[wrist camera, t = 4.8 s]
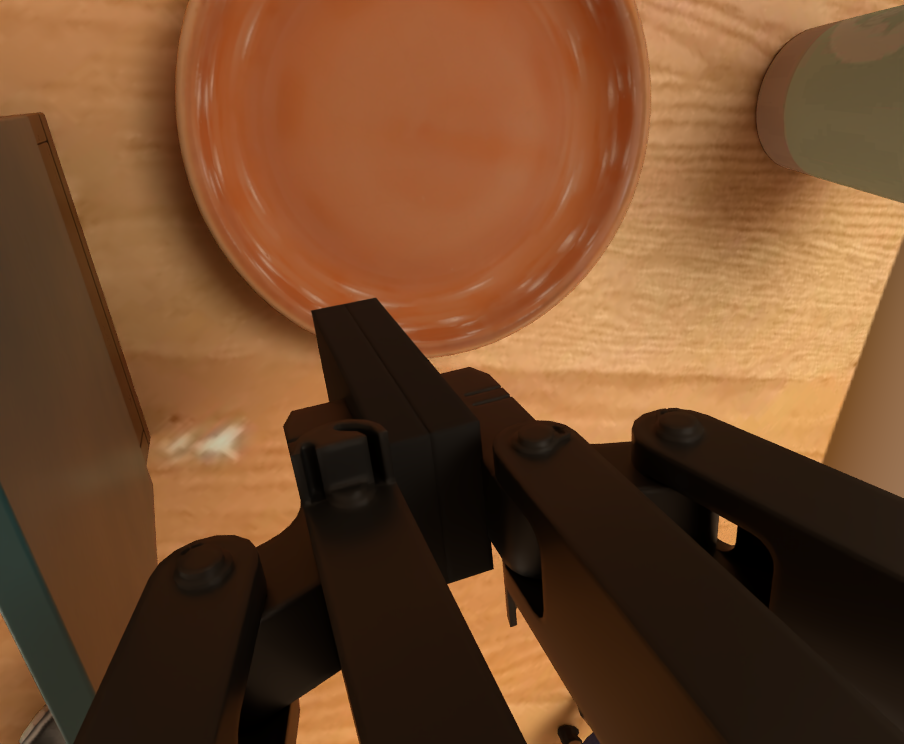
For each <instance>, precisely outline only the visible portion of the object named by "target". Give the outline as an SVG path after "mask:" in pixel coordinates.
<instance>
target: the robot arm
mask: <svg viewBox="0 0 904 744" xmlns="http://www.w3.org/2000/svg"><path fill="white" fill-rule="evenodd" d="M311 313H312V318H313V323H314V328H315V333H316V338H317V343H318V348H319V353H320V358H321V363H322V368H323V373H324V378H325V383H326V388H327V393H328V398H329V402H328V403H324V404H320V405H316V406H312V407H307V408H303V409H299V410H295V411H291V413H290V415H289V417H288V419H287V420H286V422H285V424H284V426H283V428H284V432H285V436H286V440H287V444H288V449H289V453H290V457H291V461H292V466H293V470H294V474H295V478H296V482H297V487H298V491H299V495H300V499H301V508H300V510H299V513H298V515H297V517H296V518H295V519H294V521H293V522H292V523H291V525H290V526H288V527H287V528H286V529H285V530H284V531H283V532H281V533H280V534H279V535H277V536H275V537H274V538H272V539H271V540H269V541H267V542H265V543H263V544H261V545H259V546H258V547H255V546H254V545H253V544H252V543H251V542H250V540H248V539H245V538H242V537H239V536H235V535H216V536H212V537H208V538H204V539H200V540H196V541H194V542H192V543H190V544H188V545H185V546H183V547H181V548H179V549H177V550H176V551H174V552H173V553H172V554H170V555H169V556H168V557H167V558H165V559H164V560H163V561H162V562H160V563H159V565H158V566H157V567H156V569H155V570H154V571H153V573H152V574H151V576H150V577H149V579H148V581H147V583H146V586H145V588H144V590H143V592H142V594H141V596H140V599H139V601H138V603H137V605H136V607H135V610H134V612H133V614H132V616H131V618H130V620H129V623H128V625H127V627H126V629H125V631H124V634H123V636H122V638H121V640H120V642H119V644H118V647H117V649H116V651H115V653H114V655H113V658H112V660H111V662H110V664H109V666H108V668H107V671H106V673H105V675H104V677H103V679H102V682H101V684H100V686H99V688H98V690H97V692H96V695H95V697H94V699H93V701H92V703H91V706H90V708H89V710H88V712H87V714H86V717H85V719H84V721H83V723H82V725H81V727H80V730H79V732H78V734H77V736H76V738H75V741H74V743H73V744H296V738H297V730H298V722H299V714H300V705H299V698H300V697H301V696H303V695H304V694H306V693H307V692H309V691H310V690H312V689H313V688H315V687H316V686H318V685H319V684H321V683H322V682H324V681H325V680H327V679H328V678H330V677H331V676H333V675H334V674H336V673H337V672H339V671H340V670H342V674H343V678H344V683H345V687H346V691H347V695H348V699H349V703H350V707H351V711H352V715H353V720H354V724H355V728H356V732H357V736H358V740H359V744H527V743H526V741H525V739H524V737H523V735H522V733H521V731H520V729H519V727H518V725H517V723H516V721H515V719H514V717H513V715H512V713H511V711H510V709H509V707H508V705H507V703H506V701H505V699H504V697H503V695H502V693H501V691H500V689H499V687H498V685H497V683H496V681H495V679H494V677H493V675H492V673H491V671H490V669H489V667H488V665H487V663H486V661H485V659H484V657H483V655H482V653H481V651H480V649H479V647H478V645H477V643H476V641H475V639H474V637H473V635H472V633H471V631H470V629H469V627H468V625H467V623H466V621H465V619H464V617H463V615H462V613H461V611H460V609H459V607H458V605H457V603H456V601H455V599H454V597H453V595H452V593H451V591H450V589H449V587H448V585H447V584H449V583H452V582H455V581H458V580H461V579H464V578H468V577H471V576H474V575H477V574H480V573H483V572H486V571H489V570H492V569H494V568H493V557H492V547H491V542H492V543H493V545H494V547H495V548H496V550H497V551H498V553H499V554H500V556H501V558H502V561H503V572H504V584H505V595H506V607H507V617H508V620H509V624H510V627H513V626H516V625H517V618H516V609H517V607H518V609H519V610H520V612H521V613H522V615H523V617H524V618H525V620H526V622H527V623H528V625H529V627H530V628H531V630H532V632H533V633H534V635H535V637H536V638H537V640H538V642H539V643H540V645H541V647H542V648H543V650H544V651H545V653H546V655H547V656H548V658H549V660H550V661H551V663H552V665H553V666H554V668H555V670H556V671H557V673H558V675H559V676H560V678H561V680H562V681H563V683H564V685H565V686H566V688H567V689H568V691H569V693H570V694H571V696H572V698H573V699H574V701H575V703H576V704H577V706H578V708H579V709H580V711H581V713H582V714H583V716H584V718H585V719H586V721H587V723H588V724H589V726H590V728H591V729H592V731H593V732H594V734H595V736H596V737H597V739H598V741H599V742H600V744H904V498H902V497H899V496H897V495H895V494H892V493H890V492H888V491H885V490H883V489H881V488H878V487H876V486H873V485H871V484H868V483H866V482H864V481H862V480H859V479H857V478H855V477H852V476H850V475H847V474H845V473H843V472H840V471H838V470H836V469H833V468H831V467H828V466H826V465H824V464H822V463H819V462H817V461H815V460H812V459H810V458H807V457H805V456H803V455H800V454H798V453H796V452H793V451H791V450H789V449H786V448H784V447H782V446H779V445H777V444H774V443H772V442H770V441H767V440H765V439H763V438H760V437H758V436H756V435H753V434H751V433H749V432H746V431H744V430H742V429H739V428H737V427H734V426H732V425H730V424H727V423H725V422H723V421H720V420H718V419H716V418H713V417H711V416H709V415H706V414H702V413H699V412H696V411H692V410H684V409H679V408H668V409H666V408H665V409H659V410H656V411H652V412H649V413H646V414H643V415H642V416H641V417H639V418H638V419H636V420H635V421H634V424H633V427H632V441H631V442H618V443H606V444H589V443H588V442H587V441H586V440H585V439H584V438H583V437H581V436H580V435H579V434H578V433H577V432H576V431H575V430H573V429H571V428H570V427H568V426H566V425H564V424H560V423H556V422H553V421H539V420H535V419H534V418H533V417H532V416H531V415H530V414H529V413H528V412H527V411H526V410H525V409H524V408H523V407H522V406H521V405H520V404H519V403H518V402H517V401H516V400H515V399H514V398H513V397H510V394H509V393H508V392H507V391H505V390H504V389H503V388H501V386H500V385H499V384H498V383H497V382H496V381H495V380H494V379H493V378H492V377H491V376H490V375H489V374H487V373H484V372H482V371H479V370H476V369H474V368H471V367H467V368H463V369H459V370H455V371H450V372H446V373H442V374H440V373H439V372H438V371H437V370H436V369H435V367H434V366H433V365H432V364H431V363H430V361H429V360H428V359H427V358H426V357H425V355H424V354H423V353H422V352H421V351H420V349H419V348H418V347H417V346H416V345H415V343H414V342H413V341H412V340H411V339H410V337H409V336H408V335H407V334H406V333H405V332H404V330H403V329H402V328H401V327H400V326H399V324H398V323H397V322H396V321H395V320H394V318H393V317H392V316H391V315H390V314H389V312H388V311H387V310H386V309H385V308H384V306H383V305H382V304H381V303H380V302H379V300H378V299H377V298H371V299H366V300H361V301H356V302H351V303H346V304H341V305H336V306H331V307H326V308H321V309H316V310H311ZM719 516H721V517H723V518H725V519H727V520H728V521H730V522H732V523H734V524H736V525H737V526H738V527H737V537H736V543H735V545H729V544H727V543H724V542H722V541H721V540H719V539H717V534H718V522H719Z"/></svg>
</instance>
